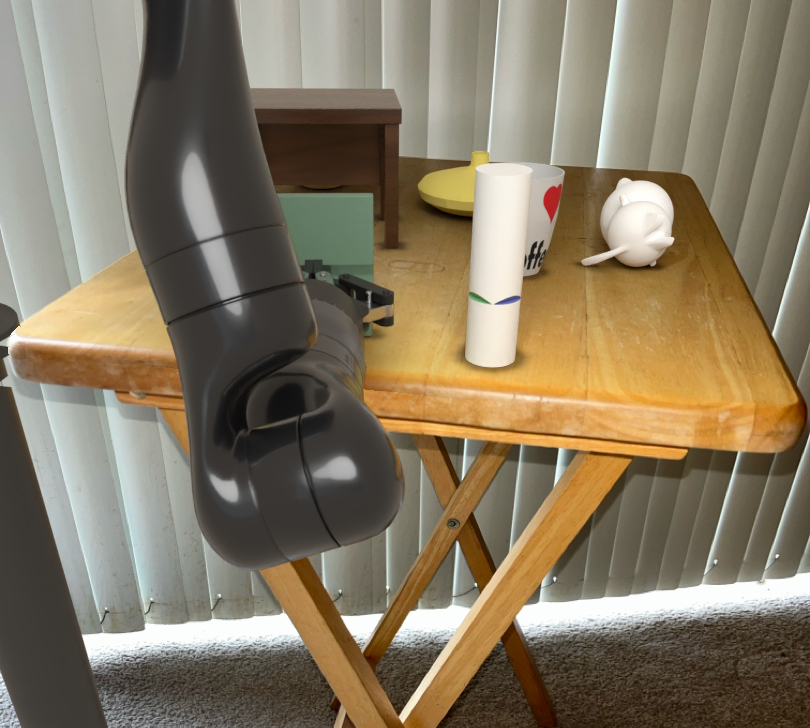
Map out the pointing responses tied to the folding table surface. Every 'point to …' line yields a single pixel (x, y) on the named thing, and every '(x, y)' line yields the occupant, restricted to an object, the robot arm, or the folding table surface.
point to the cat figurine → (636, 224)
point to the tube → (497, 262)
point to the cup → (541, 213)
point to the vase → (453, 186)
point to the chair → (333, 231)
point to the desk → (334, 140)
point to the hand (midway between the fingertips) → (314, 271)
